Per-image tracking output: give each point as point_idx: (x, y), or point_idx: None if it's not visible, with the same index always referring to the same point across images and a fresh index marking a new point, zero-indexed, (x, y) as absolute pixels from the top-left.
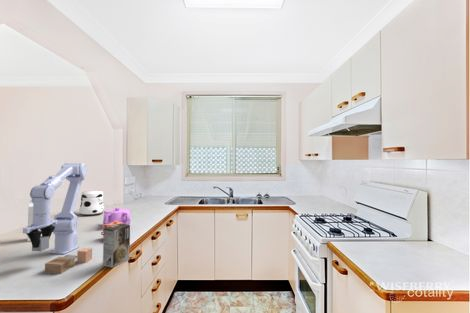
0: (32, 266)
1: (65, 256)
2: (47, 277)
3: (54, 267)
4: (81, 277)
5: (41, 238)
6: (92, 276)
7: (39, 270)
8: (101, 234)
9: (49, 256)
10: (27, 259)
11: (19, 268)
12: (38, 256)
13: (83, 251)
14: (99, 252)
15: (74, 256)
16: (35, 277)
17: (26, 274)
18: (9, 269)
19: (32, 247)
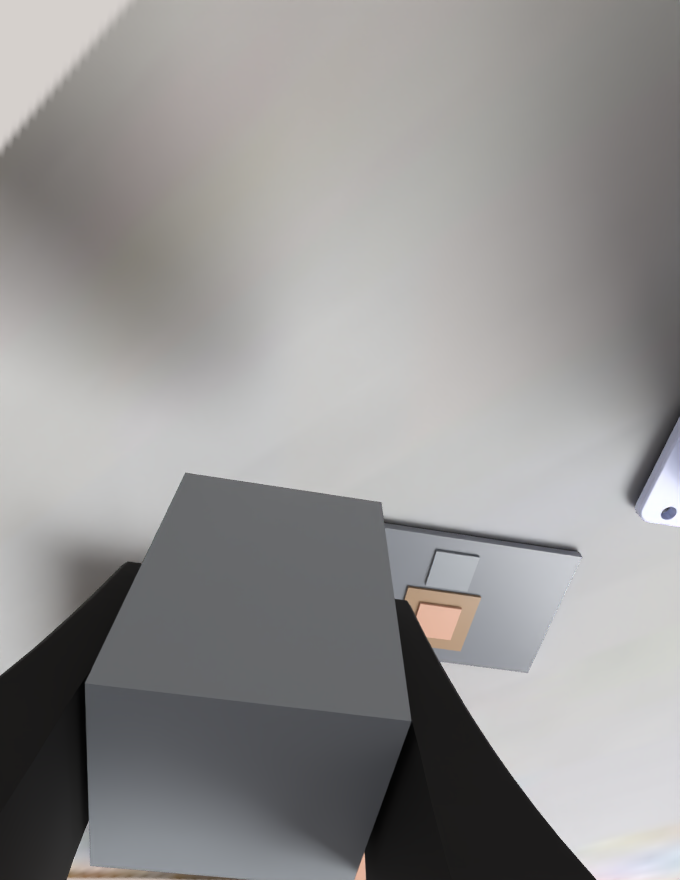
0: (257, 364)
1: (529, 567)
2: None
3: None
4: (82, 836)
5: (166, 839)
6: (108, 876)
7: (156, 511)
8: None
9: (598, 364)
10: (534, 87)
11: (186, 234)
12: (642, 191)
13: (356, 876)
14: (599, 774)
15: (510, 648)
16: (5, 570)
17: (44, 447)
18: (139, 98)
19: (163, 525)
